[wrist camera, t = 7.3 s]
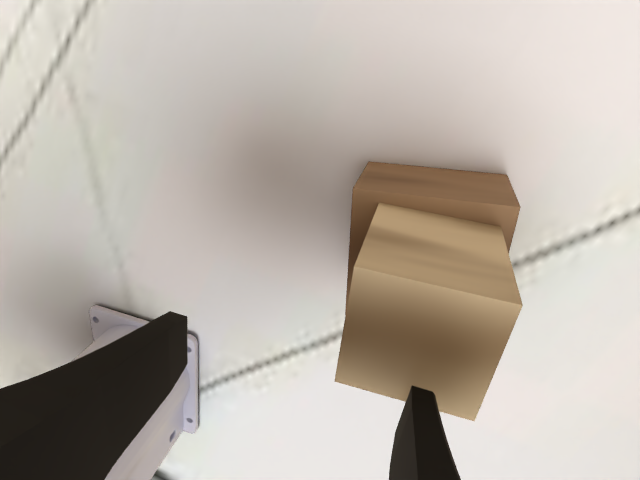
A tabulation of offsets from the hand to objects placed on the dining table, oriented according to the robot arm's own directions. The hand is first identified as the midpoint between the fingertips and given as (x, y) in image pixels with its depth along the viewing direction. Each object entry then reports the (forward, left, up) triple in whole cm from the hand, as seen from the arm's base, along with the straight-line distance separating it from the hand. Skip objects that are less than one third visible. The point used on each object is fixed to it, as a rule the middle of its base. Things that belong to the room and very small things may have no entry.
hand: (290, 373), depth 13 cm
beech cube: (+2, -3, -6) cm, 7 cm away
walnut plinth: (+1, -3, -10) cm, 11 cm away
